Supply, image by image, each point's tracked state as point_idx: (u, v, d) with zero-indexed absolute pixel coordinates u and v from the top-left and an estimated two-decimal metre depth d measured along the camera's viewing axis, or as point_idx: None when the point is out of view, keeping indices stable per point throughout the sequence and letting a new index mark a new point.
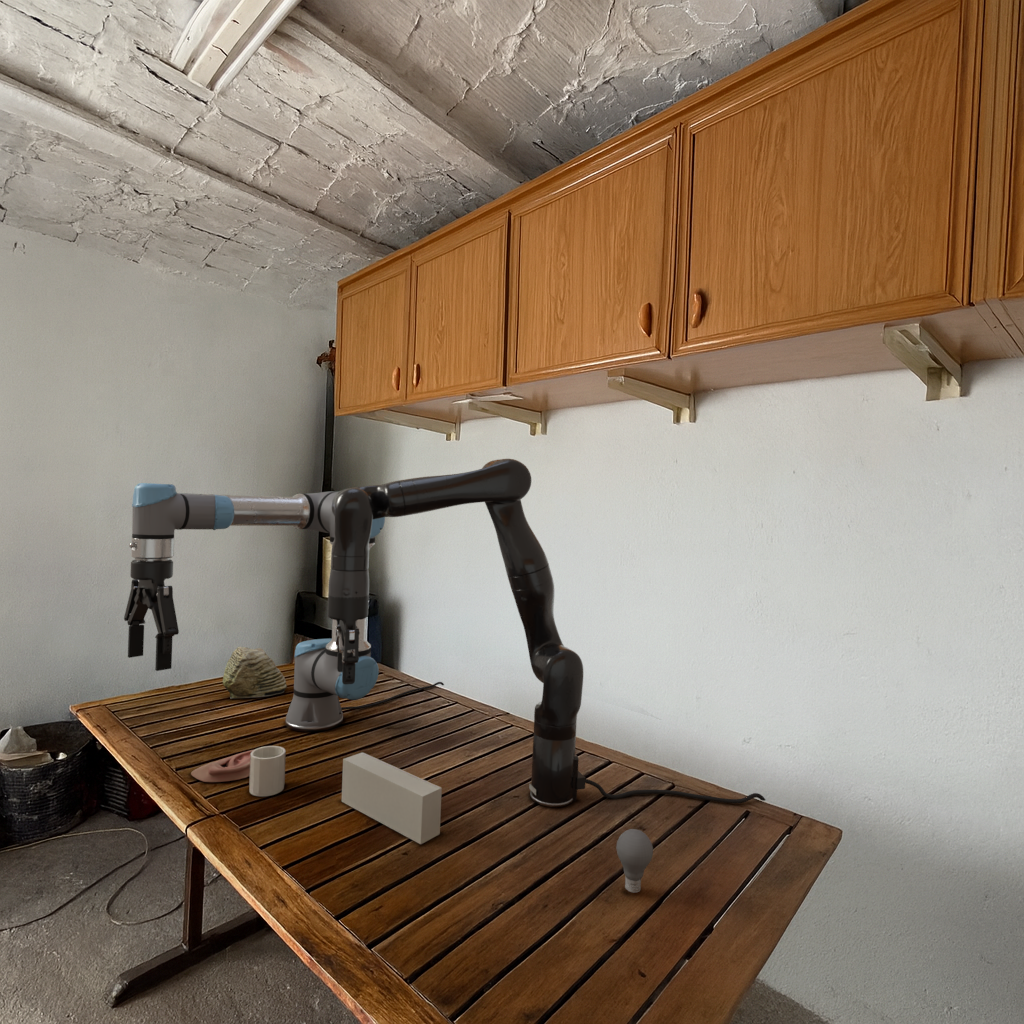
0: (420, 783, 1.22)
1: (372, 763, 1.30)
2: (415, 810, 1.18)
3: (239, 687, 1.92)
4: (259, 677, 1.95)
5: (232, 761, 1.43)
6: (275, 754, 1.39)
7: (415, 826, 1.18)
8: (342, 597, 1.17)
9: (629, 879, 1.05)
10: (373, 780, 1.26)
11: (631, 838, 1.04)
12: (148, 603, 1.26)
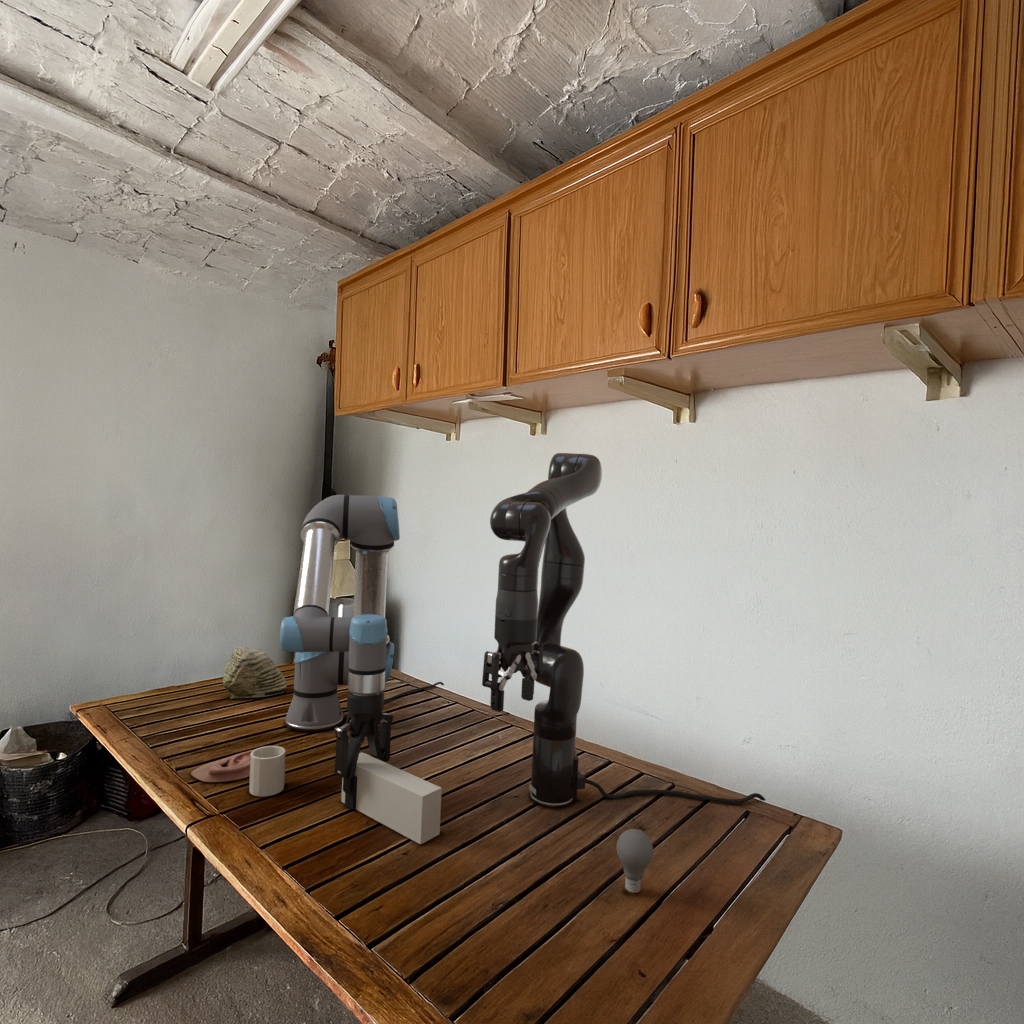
0: (420, 783, 1.22)
1: (372, 763, 1.30)
2: (415, 810, 1.18)
3: (239, 687, 1.92)
4: (259, 677, 1.95)
5: (232, 761, 1.43)
6: (275, 754, 1.39)
7: (415, 826, 1.18)
8: None
9: (629, 879, 1.05)
10: (373, 780, 1.26)
11: (631, 838, 1.04)
12: None
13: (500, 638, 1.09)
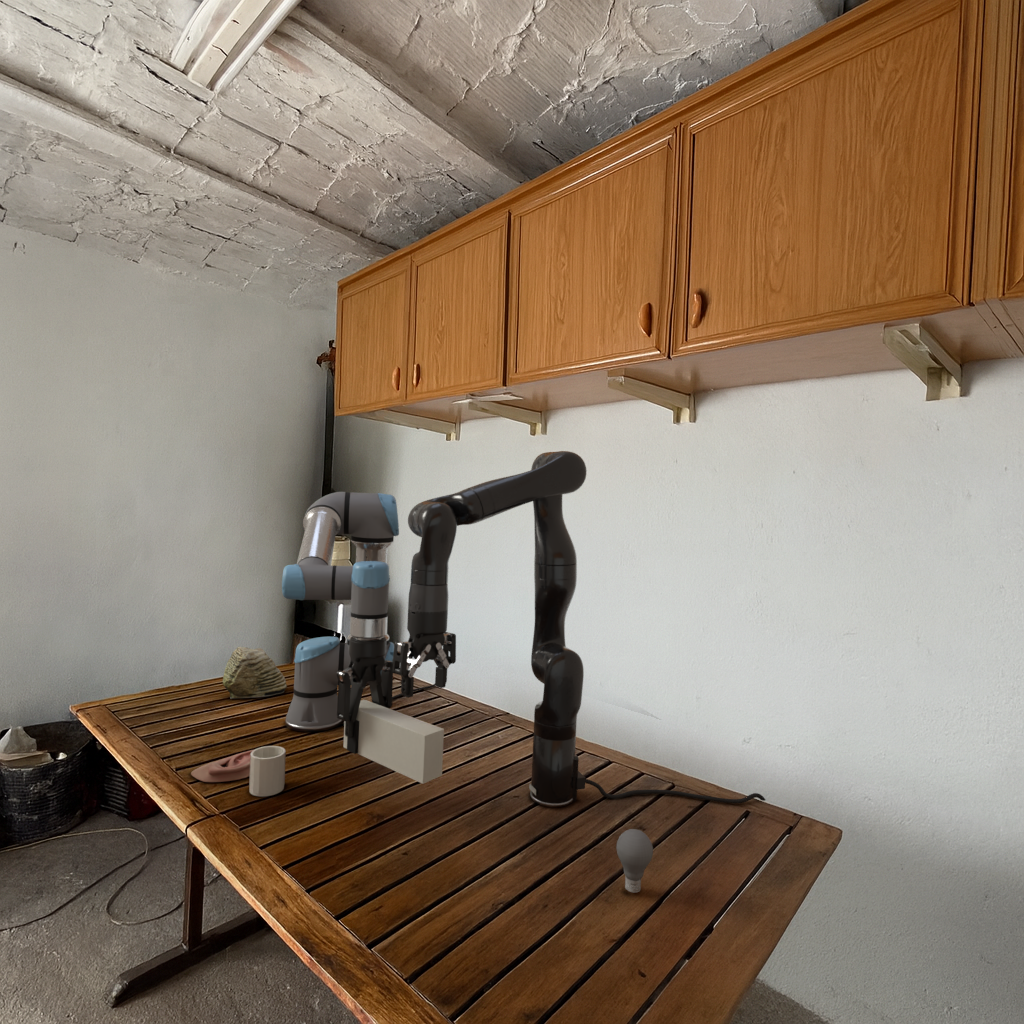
0: (422, 725, 1.22)
1: (374, 708, 1.30)
2: (417, 750, 1.18)
3: (239, 687, 1.92)
4: (259, 677, 1.95)
5: (232, 761, 1.43)
6: (275, 754, 1.39)
7: (418, 766, 1.18)
8: None
9: (629, 879, 1.05)
10: (375, 723, 1.26)
11: (631, 838, 1.04)
12: None
13: (411, 629, 1.18)
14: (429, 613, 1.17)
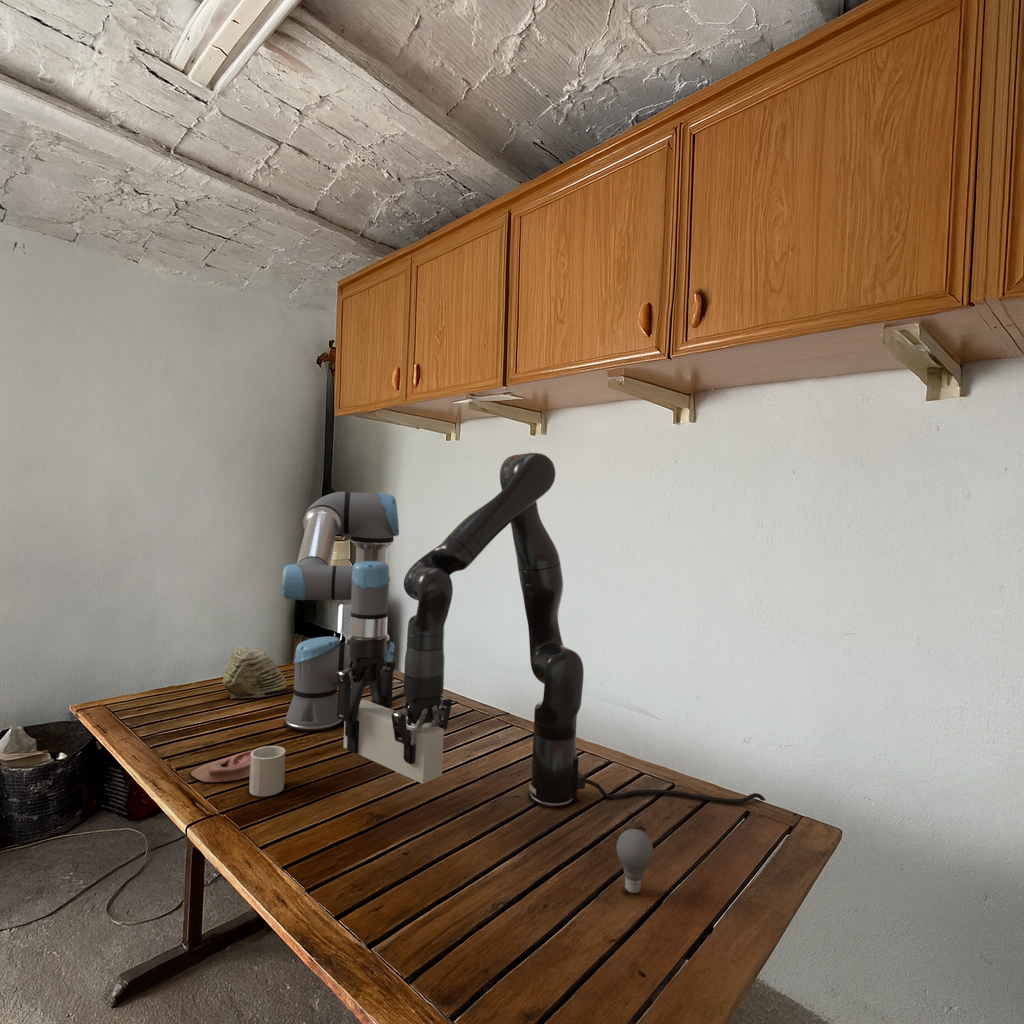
0: (422, 725, 1.22)
1: (374, 708, 1.30)
2: (417, 750, 1.18)
3: (239, 687, 1.92)
4: (259, 677, 1.95)
5: (232, 761, 1.43)
6: (275, 754, 1.39)
7: (418, 766, 1.18)
8: None
9: (629, 879, 1.05)
10: (375, 723, 1.26)
11: (631, 838, 1.04)
12: None
13: (407, 693, 1.18)
14: (425, 678, 1.17)
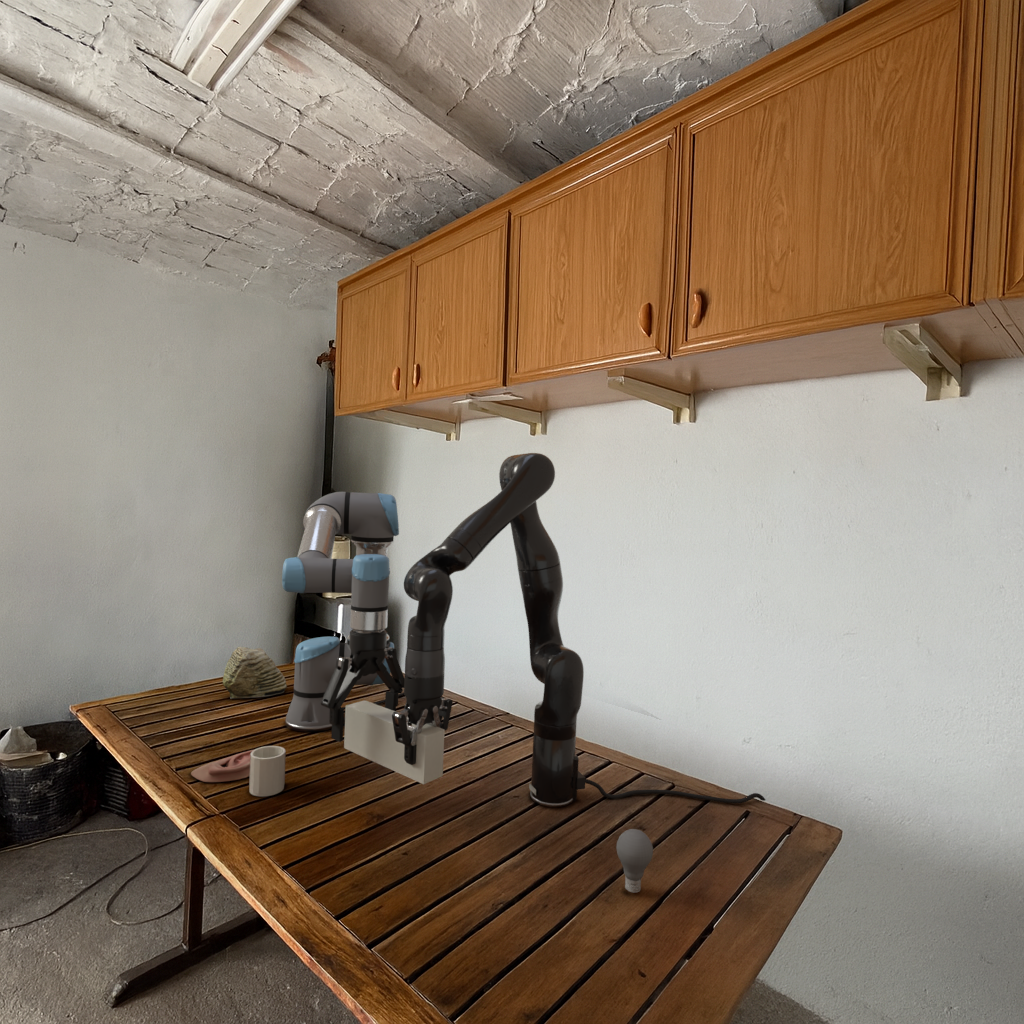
0: (423, 726, 1.22)
1: (374, 709, 1.30)
2: (418, 750, 1.18)
3: (239, 687, 1.92)
4: (259, 677, 1.95)
5: (232, 761, 1.43)
6: (275, 754, 1.39)
7: (418, 767, 1.18)
8: None
9: (629, 879, 1.05)
10: (376, 724, 1.26)
11: (631, 838, 1.04)
12: None
13: (408, 694, 1.18)
14: (425, 679, 1.17)
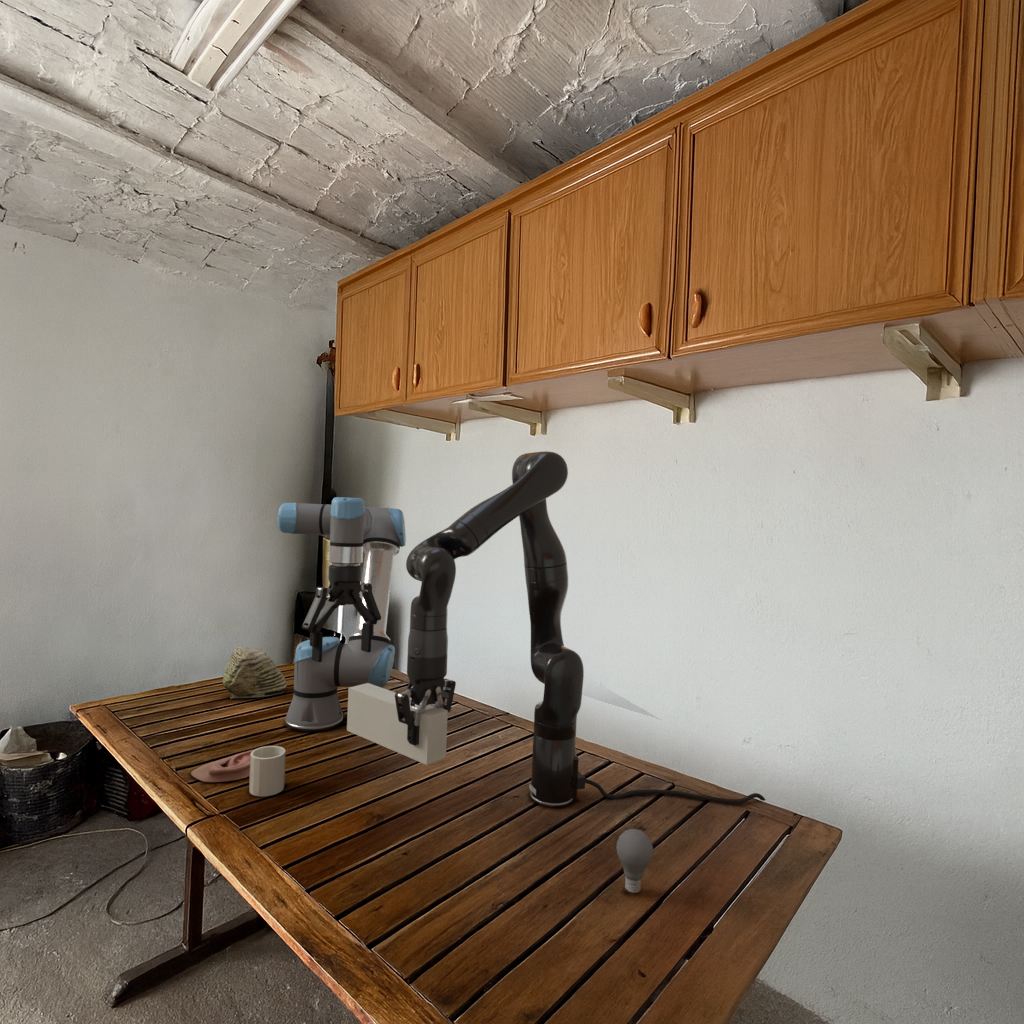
0: (426, 707, 1.21)
1: (377, 691, 1.30)
2: (421, 731, 1.17)
3: (239, 687, 1.92)
4: (259, 677, 1.95)
5: (232, 761, 1.43)
6: (275, 754, 1.39)
7: (421, 748, 1.17)
8: None
9: (629, 879, 1.05)
10: (379, 705, 1.25)
11: (631, 838, 1.04)
12: None
13: (410, 674, 1.17)
14: (428, 659, 1.16)
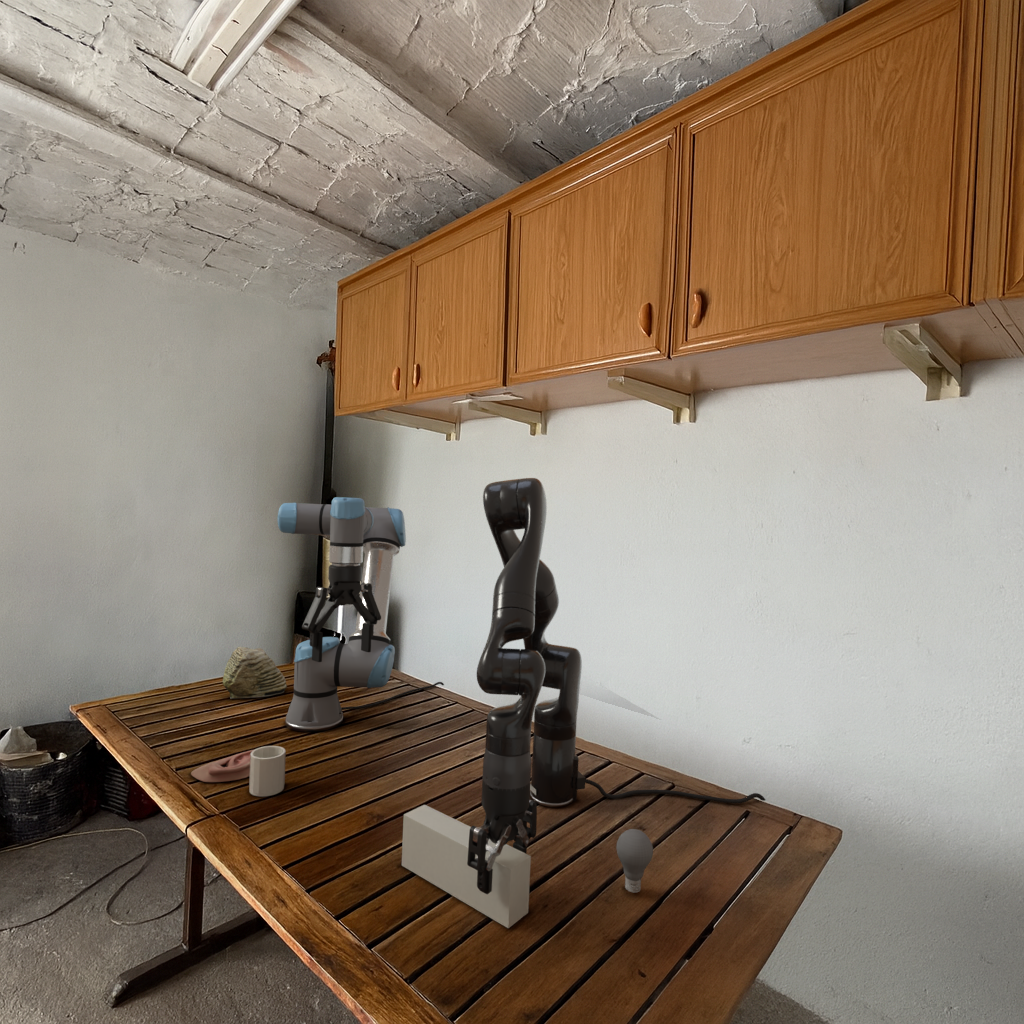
0: (503, 850, 1.00)
1: (439, 820, 1.08)
2: (501, 885, 0.96)
3: (239, 687, 1.92)
4: (259, 677, 1.95)
5: (232, 761, 1.43)
6: (275, 754, 1.39)
7: (501, 906, 0.96)
8: None
9: (629, 879, 1.05)
10: (444, 843, 1.04)
11: (631, 838, 1.04)
12: None
13: (488, 808, 0.96)
14: (511, 790, 0.95)
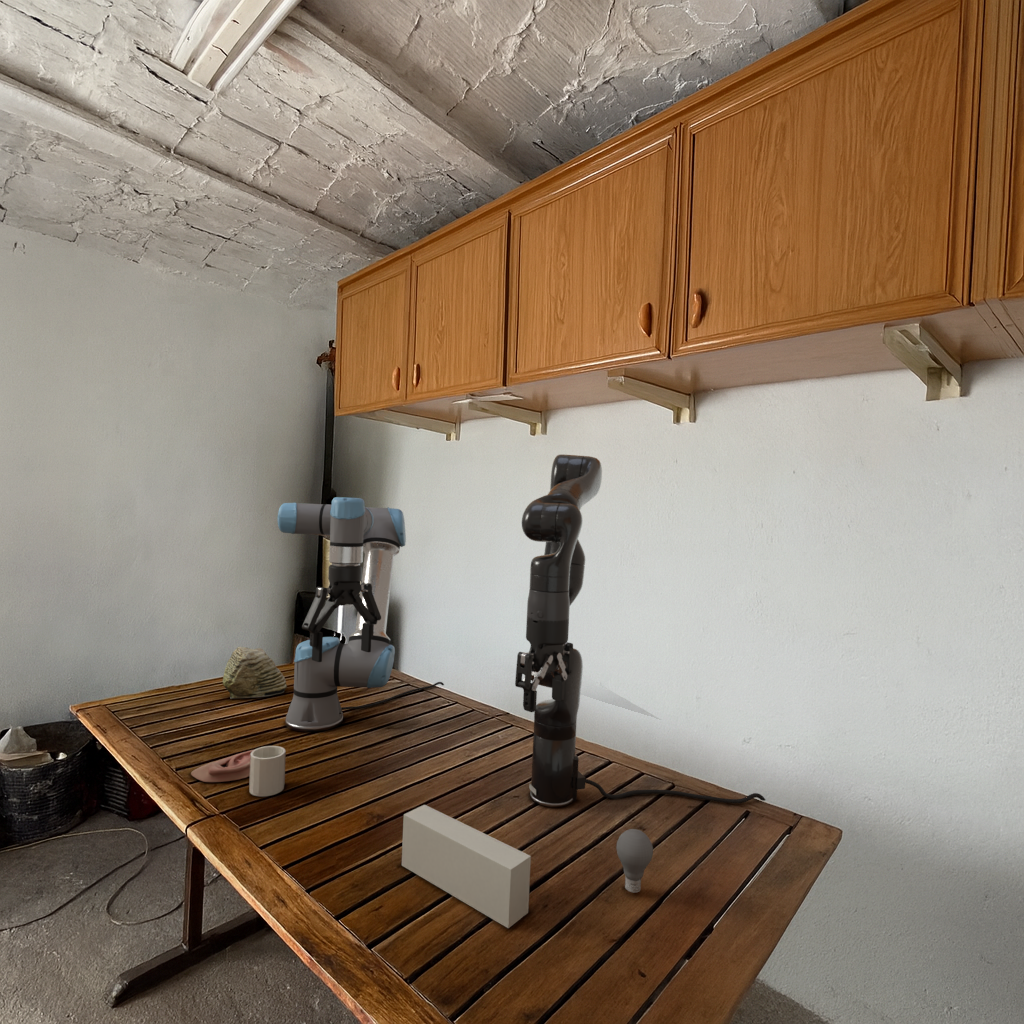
0: (503, 850, 1.00)
1: (439, 820, 1.08)
2: (501, 885, 0.96)
3: (239, 687, 1.92)
4: (259, 677, 1.95)
5: (232, 761, 1.43)
6: (275, 754, 1.39)
7: (501, 906, 0.96)
8: None
9: (629, 879, 1.05)
10: (444, 843, 1.04)
11: (631, 838, 1.04)
12: None
13: (532, 639, 1.10)
14: (553, 622, 1.09)
